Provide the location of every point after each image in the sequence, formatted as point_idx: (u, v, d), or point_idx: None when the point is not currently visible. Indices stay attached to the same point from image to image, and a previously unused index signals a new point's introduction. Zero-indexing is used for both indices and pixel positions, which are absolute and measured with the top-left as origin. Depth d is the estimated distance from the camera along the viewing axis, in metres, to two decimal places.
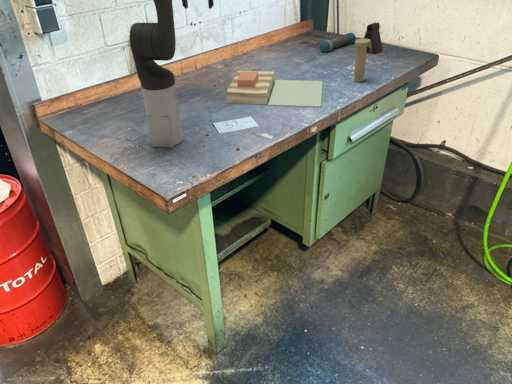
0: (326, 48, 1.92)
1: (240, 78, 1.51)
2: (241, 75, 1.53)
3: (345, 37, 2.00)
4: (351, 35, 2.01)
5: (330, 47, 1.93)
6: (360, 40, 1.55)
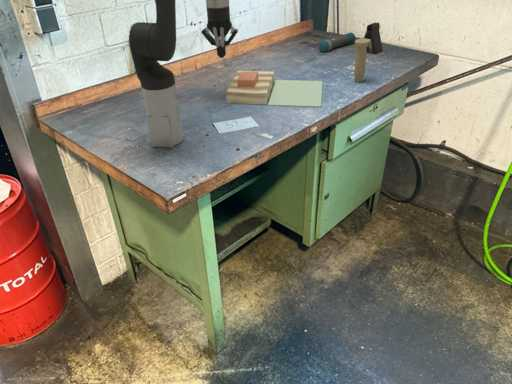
0: (325, 48, 1.93)
1: (240, 78, 1.51)
2: (241, 75, 1.53)
3: (345, 37, 2.00)
4: (351, 35, 2.01)
5: (329, 47, 1.94)
6: (360, 40, 1.55)
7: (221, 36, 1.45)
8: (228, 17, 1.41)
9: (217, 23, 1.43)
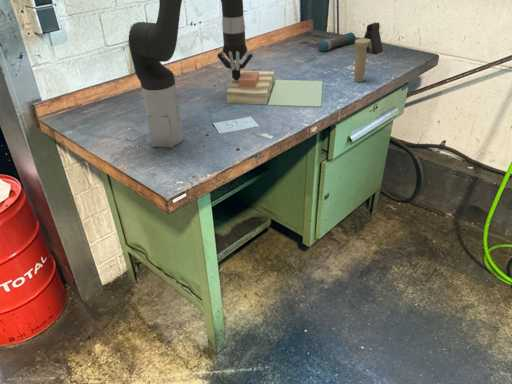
0: (324, 48, 1.93)
1: (241, 78, 1.51)
2: (242, 75, 1.53)
3: (344, 37, 2.00)
4: (351, 35, 2.02)
5: (329, 47, 1.94)
6: (360, 40, 1.55)
7: (236, 60, 1.49)
8: (244, 42, 1.45)
9: (233, 47, 1.47)
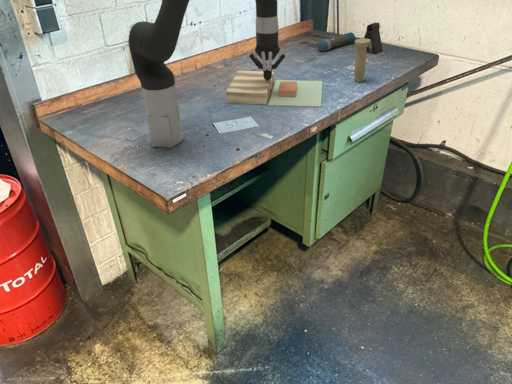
0: (324, 47, 1.93)
1: None
2: None
3: (344, 37, 2.00)
4: (350, 35, 2.02)
5: (328, 46, 1.94)
6: (360, 40, 1.55)
7: (269, 60, 1.47)
8: (277, 42, 1.44)
9: (265, 47, 1.45)
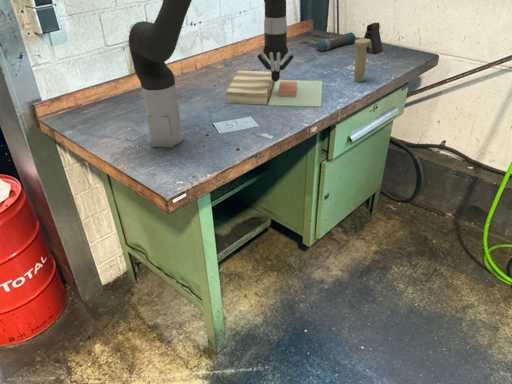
0: (323, 47, 1.93)
1: None
2: None
3: (344, 37, 2.00)
4: (351, 35, 2.02)
5: (327, 46, 1.94)
6: (360, 40, 1.55)
7: (277, 61, 1.47)
8: (285, 43, 1.43)
9: (274, 48, 1.45)
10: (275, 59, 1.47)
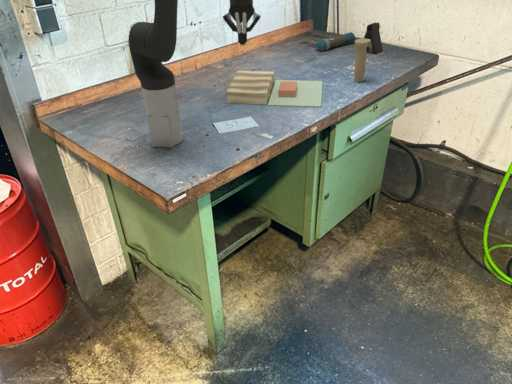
0: (323, 47, 1.94)
1: None
2: None
3: (344, 37, 2.00)
4: (350, 35, 2.02)
5: (327, 46, 1.95)
6: (360, 40, 1.55)
7: (243, 22, 1.41)
8: (251, 2, 1.38)
9: (239, 8, 1.39)
10: (241, 20, 1.41)
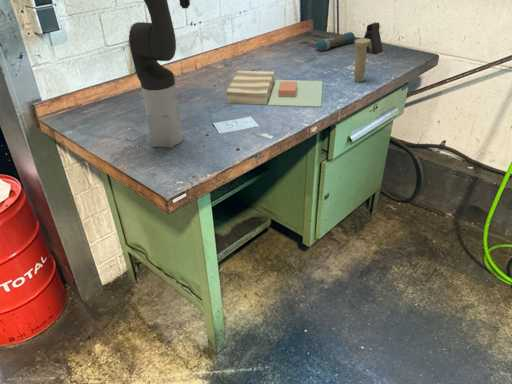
0: (323, 47, 1.94)
1: None
2: None
3: (344, 36, 2.00)
4: (350, 35, 2.02)
5: (327, 46, 1.95)
6: (360, 40, 1.55)
7: None
8: None
9: None
10: None
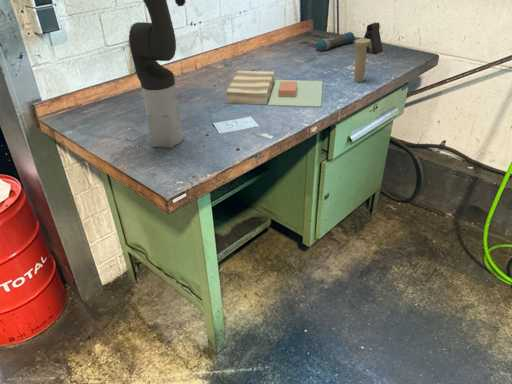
0: (323, 47, 1.94)
1: None
2: None
3: (343, 36, 2.01)
4: (350, 35, 2.02)
5: (327, 46, 1.95)
6: (360, 40, 1.55)
7: None
8: None
9: None
10: None
